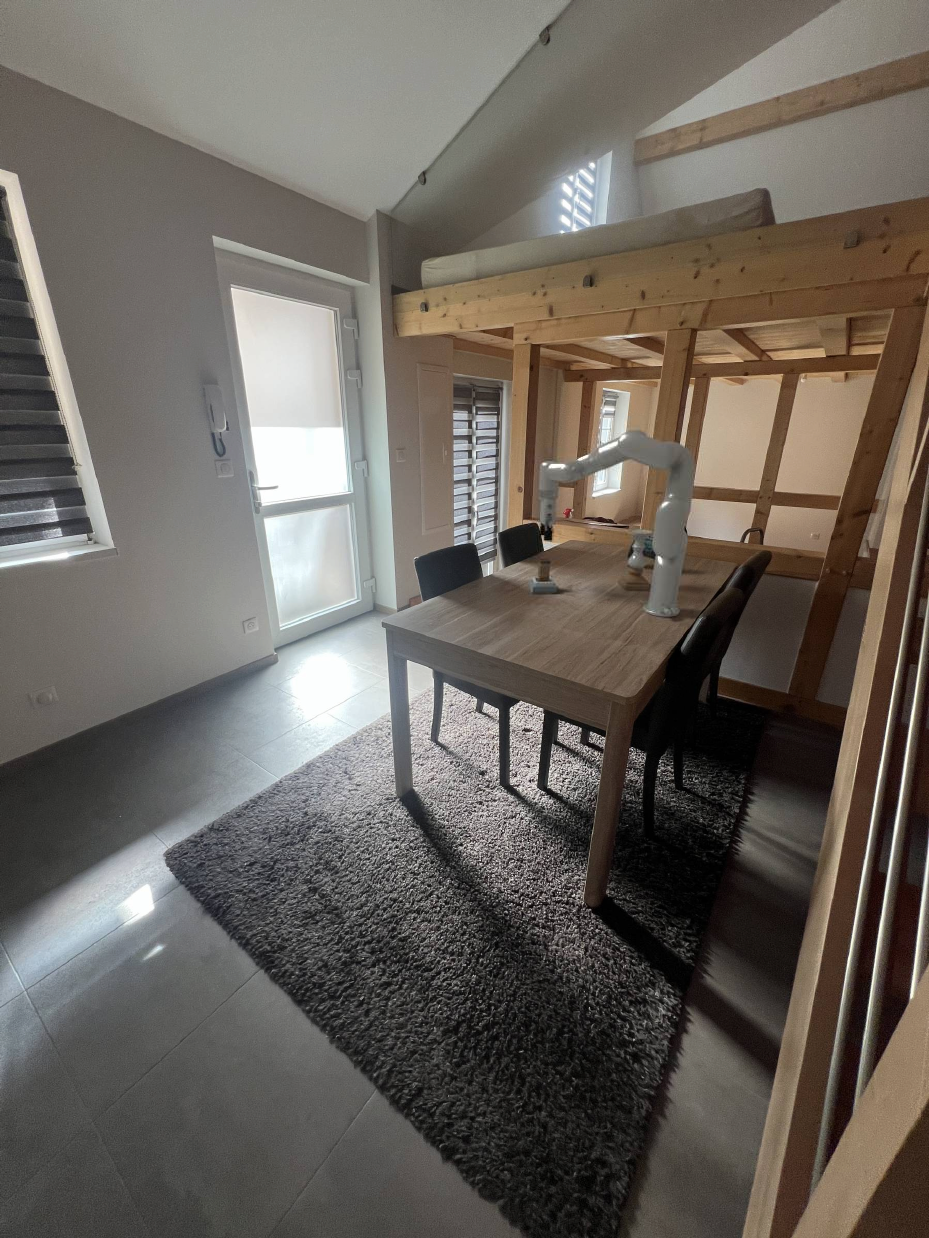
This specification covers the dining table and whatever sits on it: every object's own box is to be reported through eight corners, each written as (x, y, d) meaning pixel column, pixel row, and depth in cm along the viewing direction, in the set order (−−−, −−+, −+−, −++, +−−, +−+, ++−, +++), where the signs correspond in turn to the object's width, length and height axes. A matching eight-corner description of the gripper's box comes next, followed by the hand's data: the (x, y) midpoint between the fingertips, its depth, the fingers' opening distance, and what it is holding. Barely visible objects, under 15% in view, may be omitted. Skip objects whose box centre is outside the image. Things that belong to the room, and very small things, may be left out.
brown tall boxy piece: (548, 589, 205) (550, 561, 201) (538, 589, 205) (540, 561, 201) (546, 586, 209) (548, 558, 204) (537, 586, 209) (538, 558, 204)
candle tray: (556, 593, 203) (557, 583, 201) (532, 593, 203) (532, 583, 201) (552, 586, 212) (552, 576, 210) (528, 586, 212) (529, 576, 210)
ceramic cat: (670, 572, 231) (677, 530, 224) (664, 575, 227) (671, 532, 219) (630, 564, 244) (635, 524, 237) (624, 567, 240) (629, 526, 232)
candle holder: (650, 590, 207) (658, 534, 198) (624, 590, 207) (631, 534, 198) (642, 582, 217) (649, 528, 208) (617, 582, 217) (623, 528, 208)
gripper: (562, 497, 185) (559, 542, 191) (553, 491, 201) (550, 533, 207) (542, 497, 185) (540, 542, 191) (535, 491, 201) (533, 533, 207)
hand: (545, 537), depth 199 cm, fingers open, 9 cm apart
